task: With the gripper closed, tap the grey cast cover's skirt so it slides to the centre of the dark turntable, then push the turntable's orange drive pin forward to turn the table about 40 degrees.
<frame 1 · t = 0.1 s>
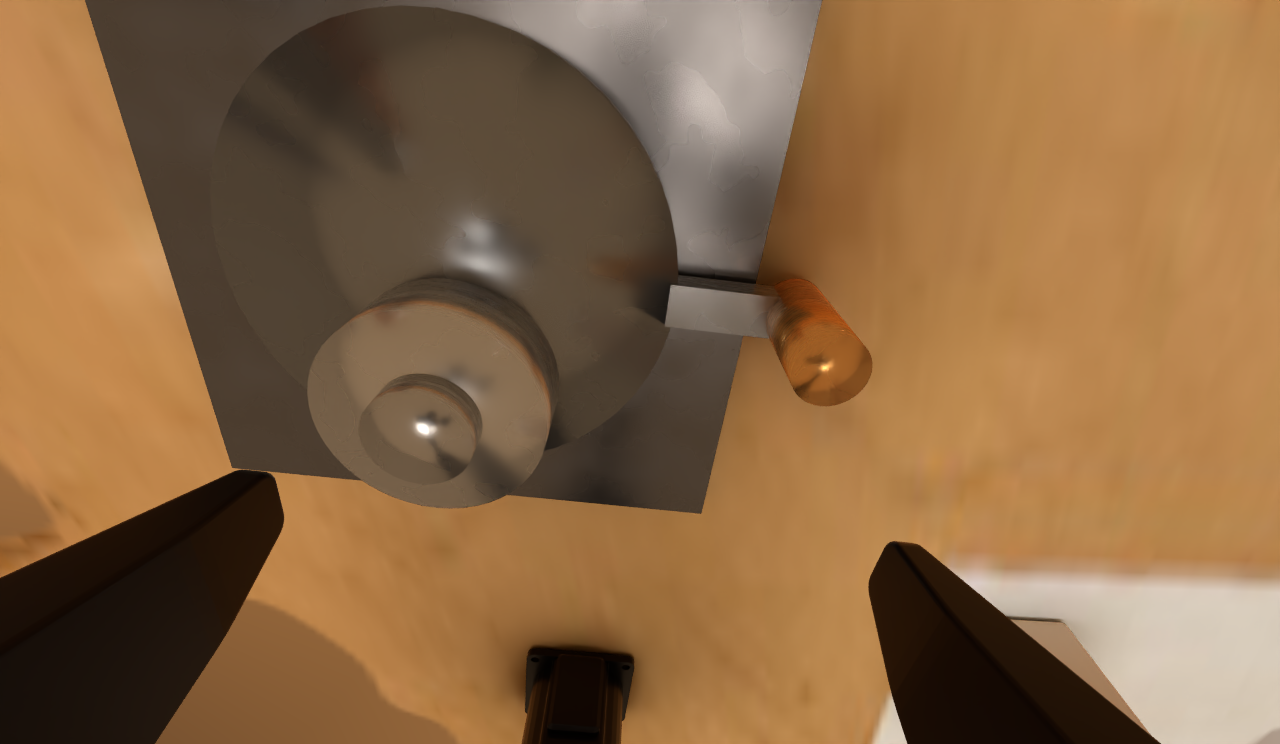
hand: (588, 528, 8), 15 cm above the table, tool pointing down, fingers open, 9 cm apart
milk carton: (977, 650, 33), on the table
base plate: (470, 259, 21), on the table
cover: (456, 376, 21), point 2 cm above the table, touching turntable
turntable: (524, 303, 18), point 4 cm above the table, hinge at 0.0°, touching cover
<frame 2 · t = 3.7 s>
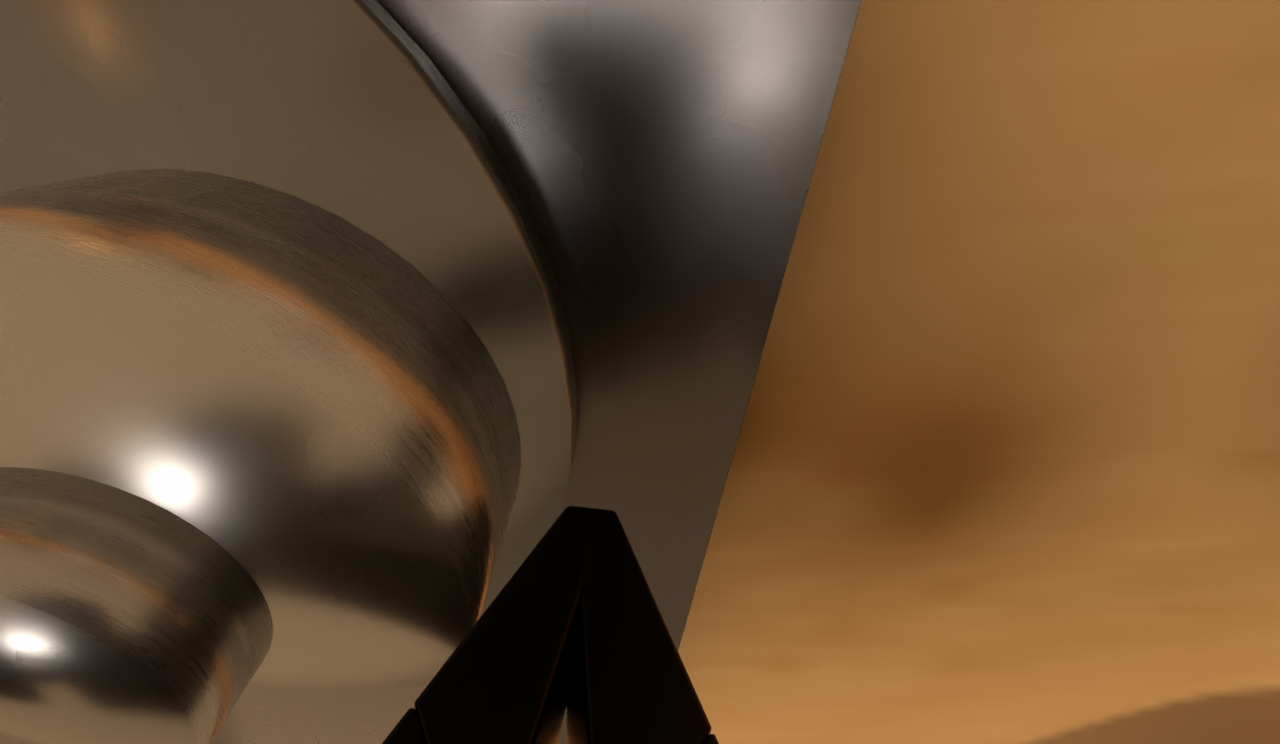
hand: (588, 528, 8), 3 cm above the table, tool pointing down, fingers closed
base plate: (170, 349, 10), on the table
cover: (267, 435, 8), point 2 cm above the table, touching gripper, turntable
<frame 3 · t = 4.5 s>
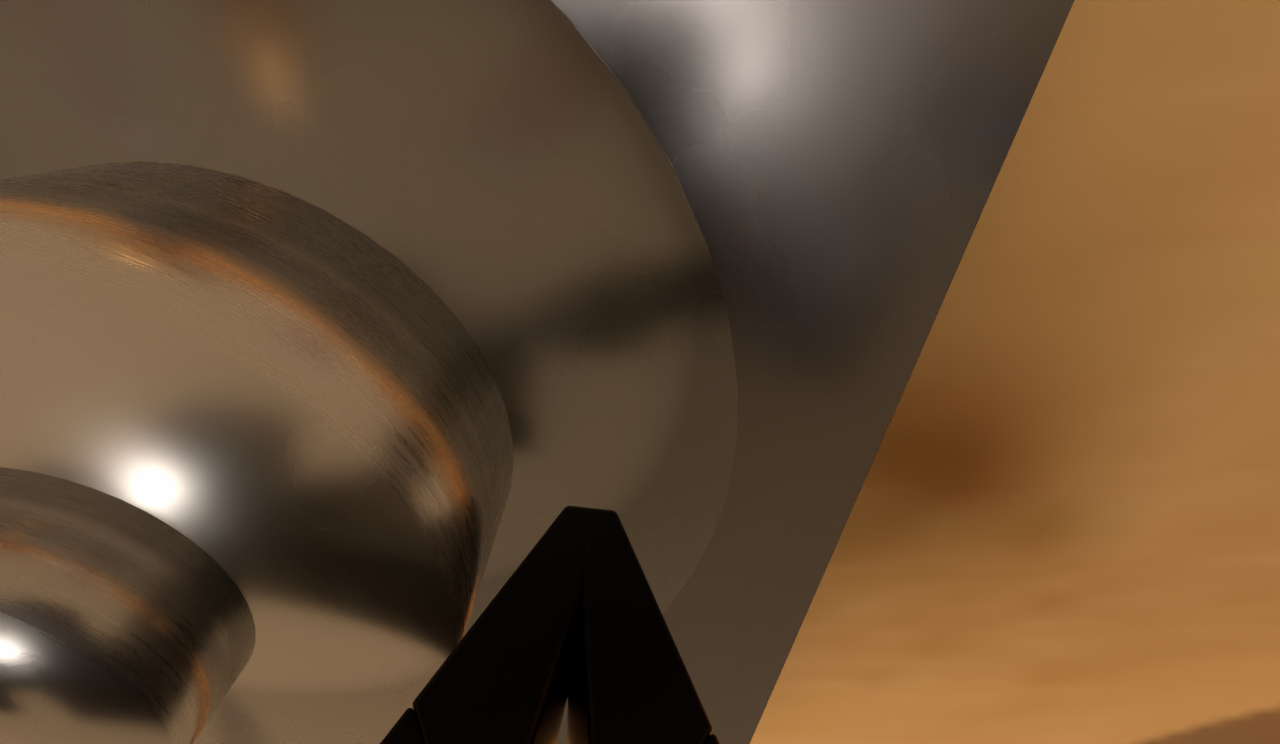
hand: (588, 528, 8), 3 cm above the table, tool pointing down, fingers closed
base plate: (307, 373, 10), on the table
cover: (255, 435, 8), point 2 cm above the table, touching gripper, turntable
turntable: (68, 314, 6), point 4 cm above the table, hinge at 0.7°, touching cover
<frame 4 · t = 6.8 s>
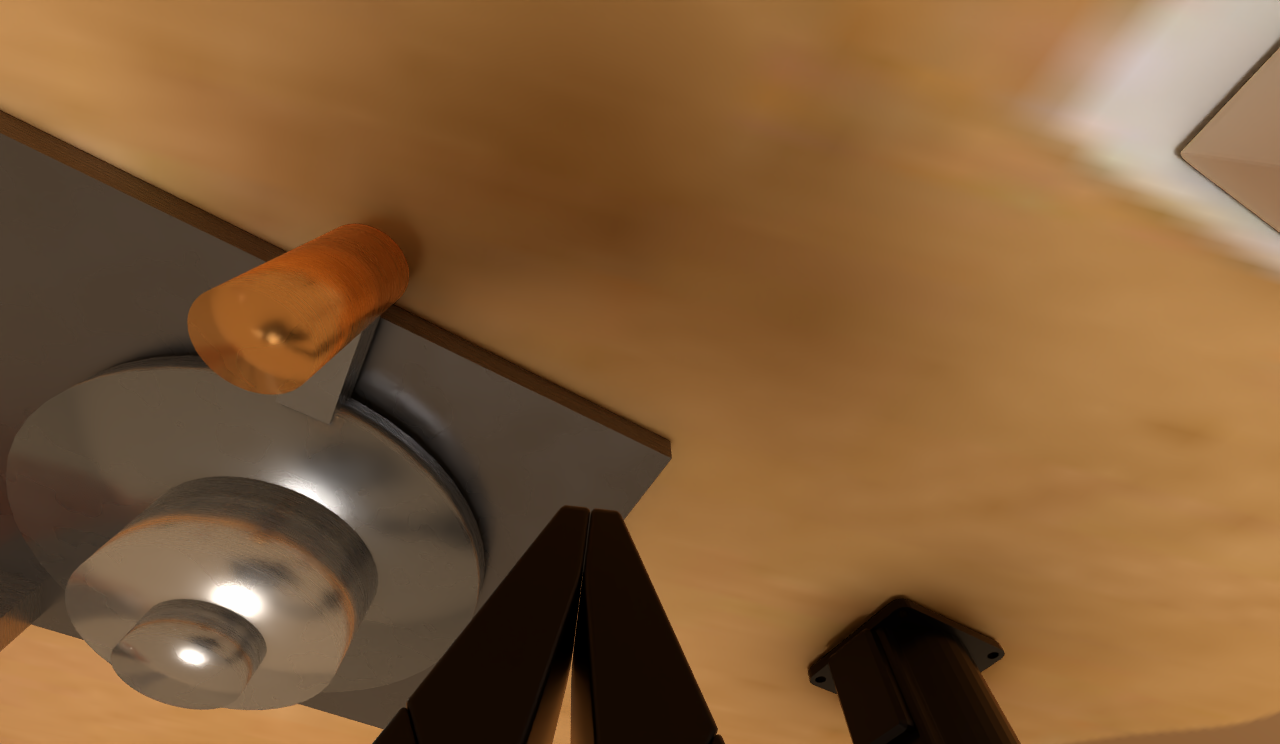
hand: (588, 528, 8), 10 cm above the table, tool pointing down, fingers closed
base plate: (293, 517, 21), on the table
cover: (266, 561, 19), point 2 cm above the table, touching turntable
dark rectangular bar: (8, 590, 22), resting on base plate
turntable: (244, 546, 17), point 4 cm above the table, hinge at 0.7°, touching cover
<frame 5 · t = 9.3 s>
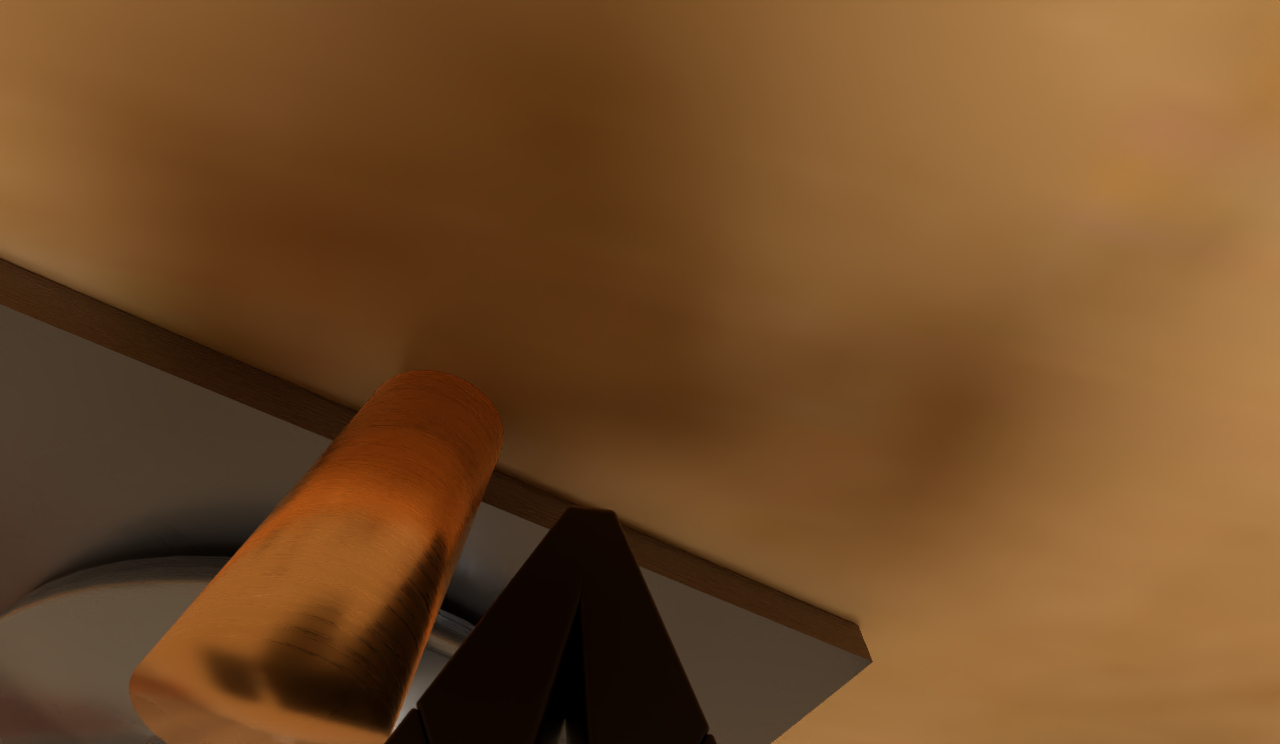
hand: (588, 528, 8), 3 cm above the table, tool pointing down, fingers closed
base plate: (332, 713, 16), on the table
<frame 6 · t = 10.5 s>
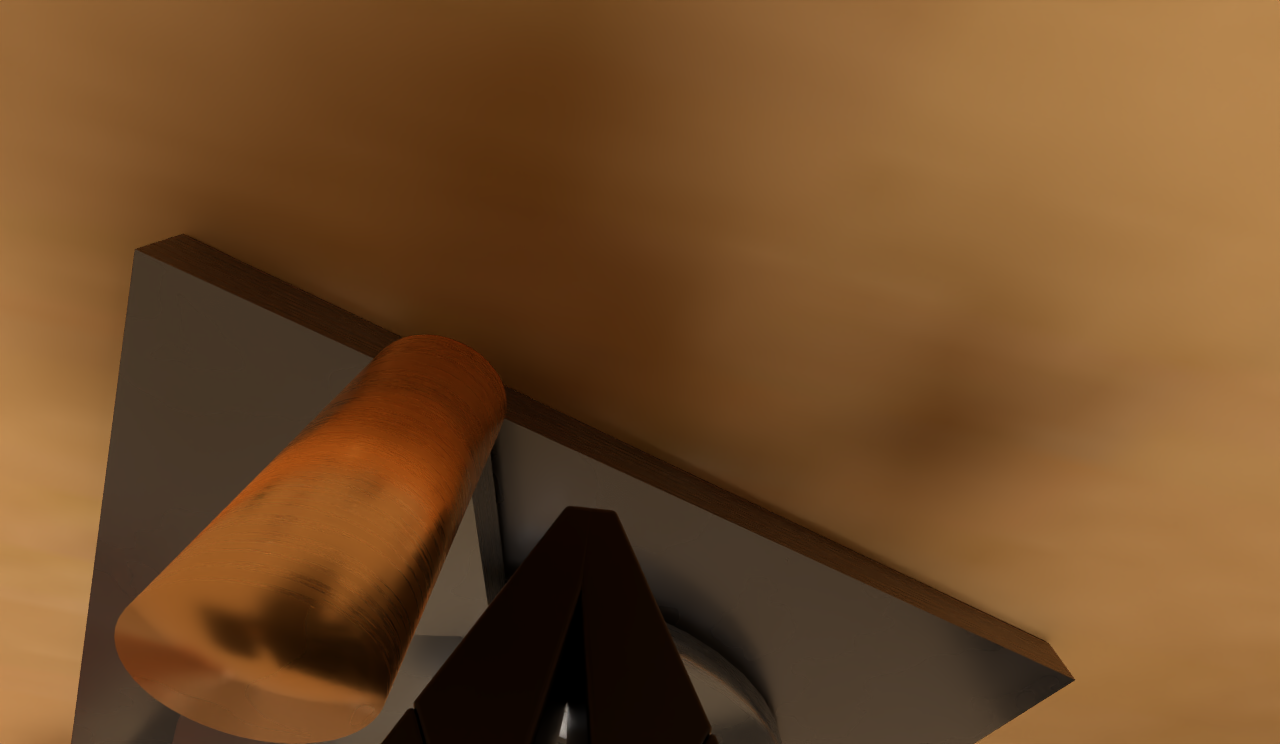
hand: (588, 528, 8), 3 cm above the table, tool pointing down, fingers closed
base plate: (510, 724, 16), on the table
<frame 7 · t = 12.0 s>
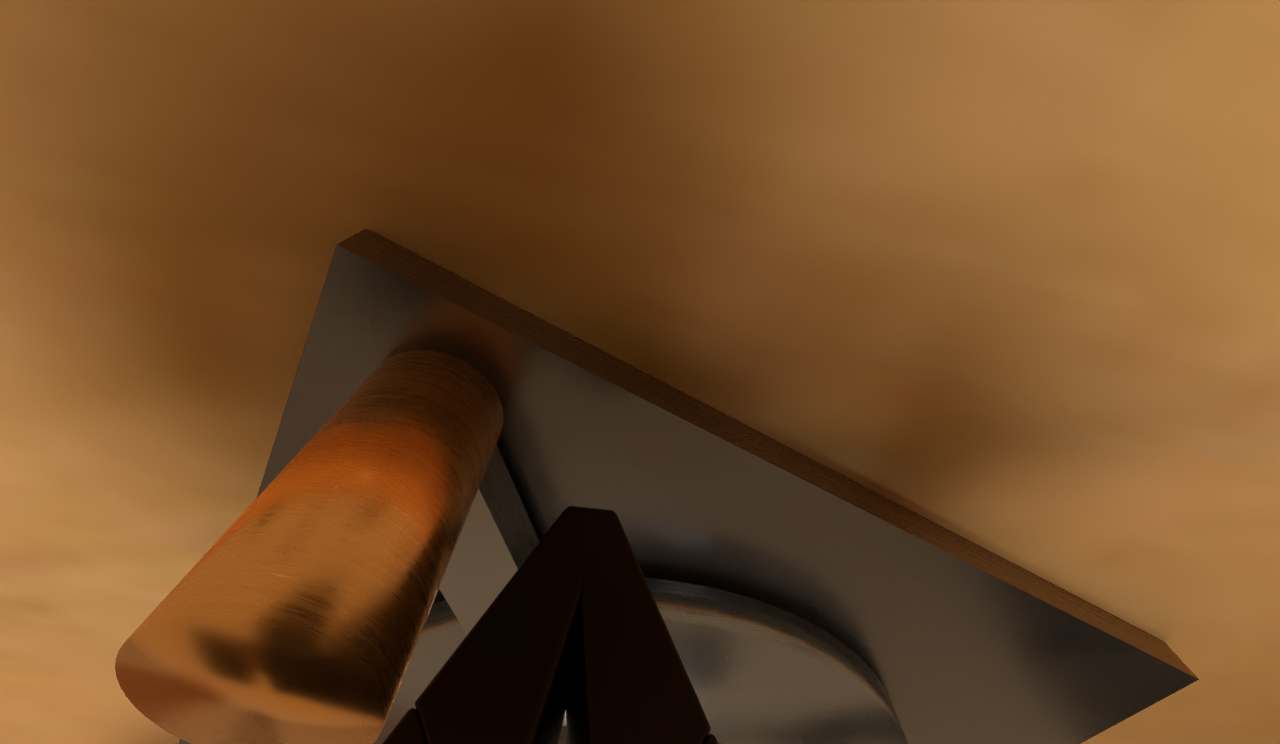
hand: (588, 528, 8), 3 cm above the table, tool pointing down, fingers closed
base plate: (613, 720, 16), on the table
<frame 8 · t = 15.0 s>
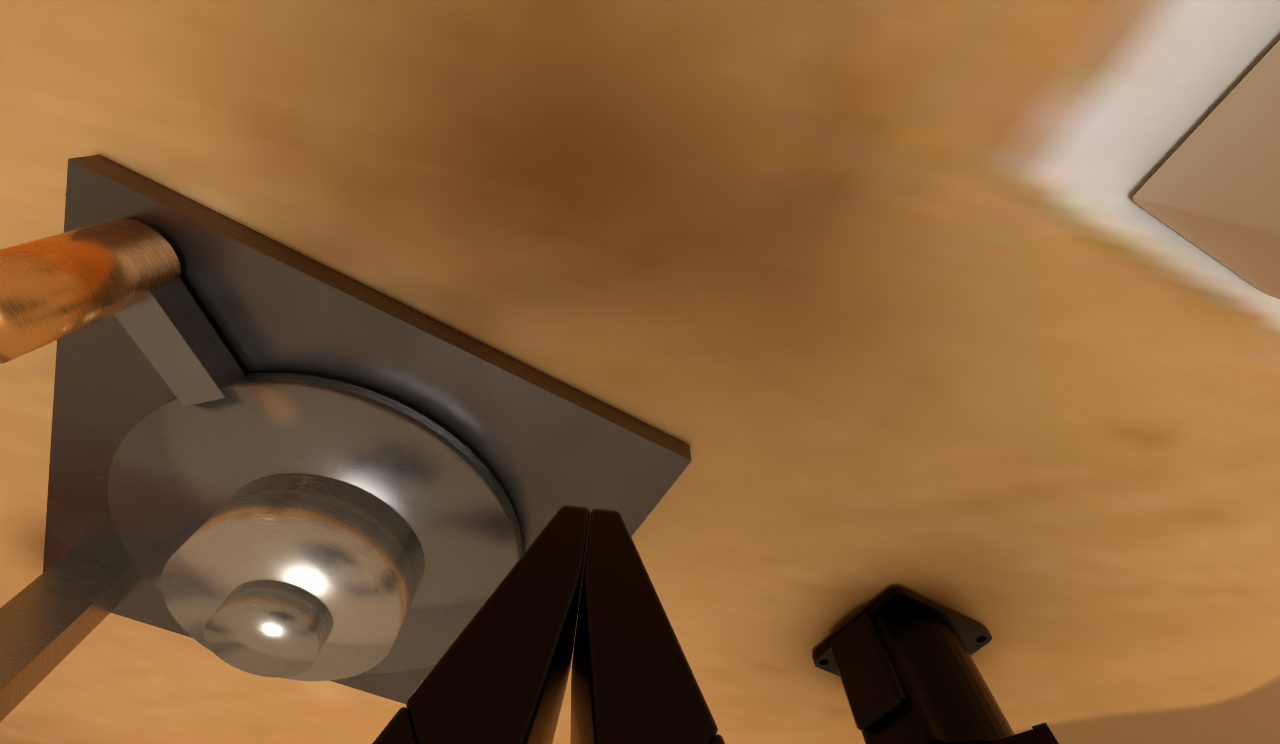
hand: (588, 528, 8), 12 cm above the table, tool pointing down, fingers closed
base plate: (349, 515, 24), on the table
cover: (325, 549, 22), point 2 cm above the table, touching turntable
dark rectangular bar: (92, 580, 25), resting on base plate
turntable: (260, 532, 19), point 4 cm above the table, hinge at 43.5°, touching cover
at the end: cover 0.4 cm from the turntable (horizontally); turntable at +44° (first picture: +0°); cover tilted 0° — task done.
